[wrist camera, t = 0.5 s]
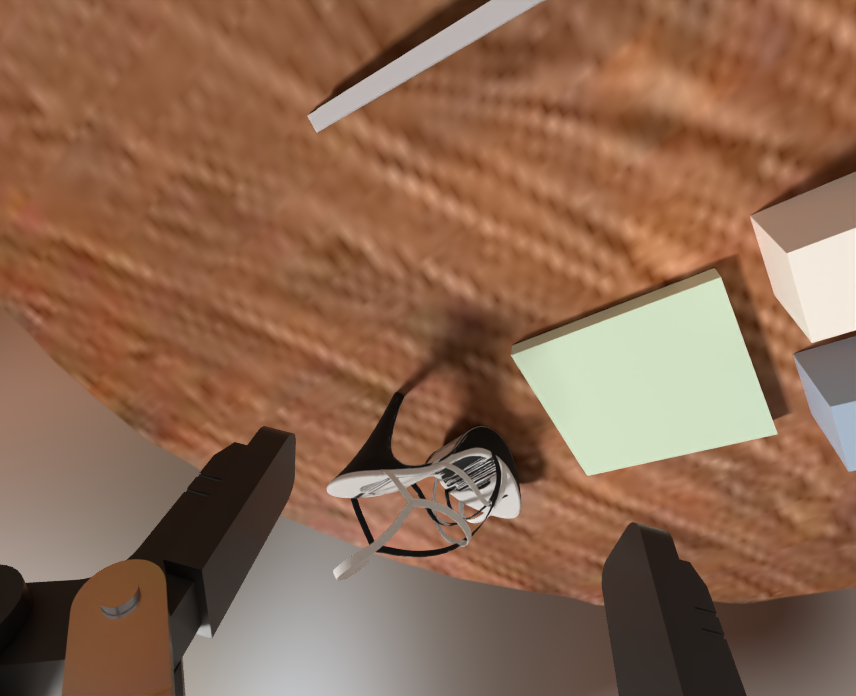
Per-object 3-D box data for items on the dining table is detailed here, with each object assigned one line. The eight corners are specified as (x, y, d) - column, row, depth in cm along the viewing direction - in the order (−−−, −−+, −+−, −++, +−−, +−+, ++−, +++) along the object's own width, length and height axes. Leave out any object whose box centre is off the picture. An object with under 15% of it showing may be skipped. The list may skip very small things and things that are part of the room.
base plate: (715, 267, 27) (720, 277, 26) (770, 421, 32) (777, 434, 31) (512, 345, 33) (510, 355, 32) (586, 464, 38) (587, 475, 37)
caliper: (703, -125, 18) (758, -176, 13) (708, -92, 19) (763, -129, 14) (310, 114, 27) (255, 136, 22) (320, 132, 27) (268, 159, 22)
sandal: (534, 488, 41) (527, 682, 29) (443, 500, 45) (404, 676, 33) (464, 356, 34) (417, 538, 22) (364, 383, 38) (279, 551, 26)
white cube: (876, 161, 22) (946, 194, 18) (892, 253, 24) (958, 300, 21) (749, 215, 25) (786, 253, 21) (773, 294, 27) (812, 342, 23)
